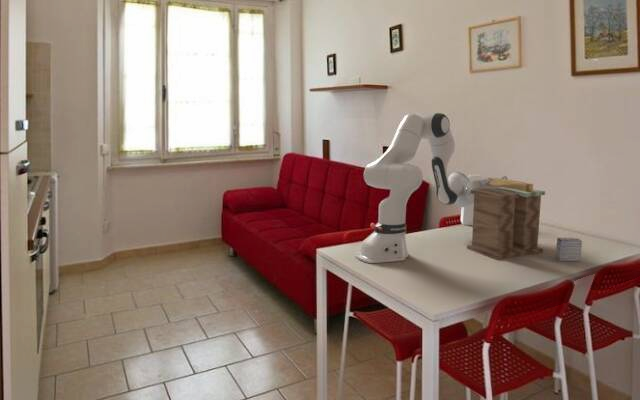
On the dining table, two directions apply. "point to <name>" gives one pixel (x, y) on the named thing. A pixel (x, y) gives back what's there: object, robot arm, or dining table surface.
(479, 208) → the twin stand
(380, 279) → the dining table surface
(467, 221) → the milk
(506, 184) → the oak bar
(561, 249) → the medicine box
